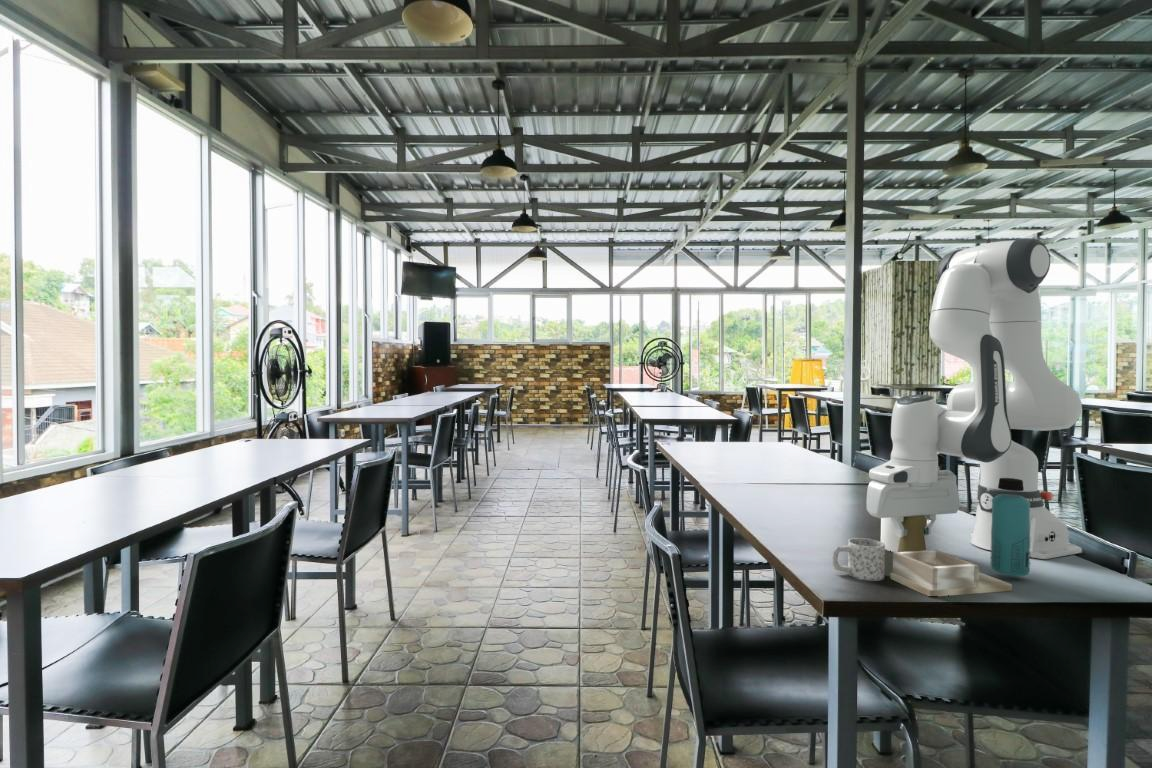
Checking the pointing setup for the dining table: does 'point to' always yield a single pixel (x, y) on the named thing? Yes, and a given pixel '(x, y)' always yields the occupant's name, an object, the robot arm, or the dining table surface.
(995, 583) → the open box
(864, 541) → the mug
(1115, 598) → the dining table surface
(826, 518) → the dining table surface
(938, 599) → the dining table surface
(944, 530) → the dining table surface
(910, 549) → the cork
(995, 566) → the beverage bottle
